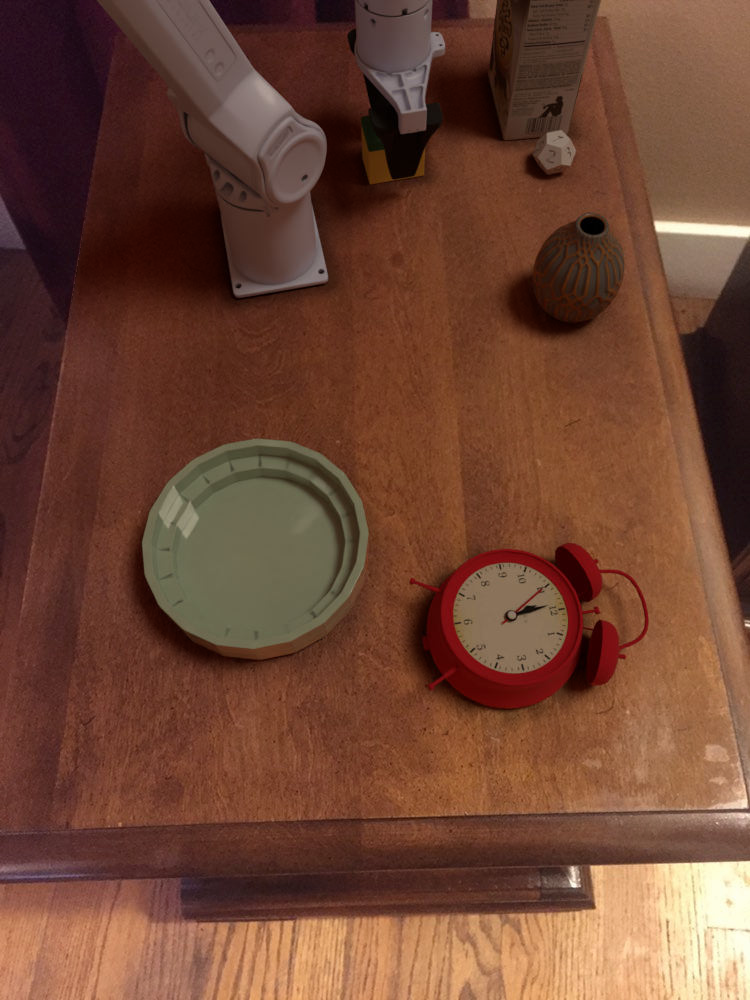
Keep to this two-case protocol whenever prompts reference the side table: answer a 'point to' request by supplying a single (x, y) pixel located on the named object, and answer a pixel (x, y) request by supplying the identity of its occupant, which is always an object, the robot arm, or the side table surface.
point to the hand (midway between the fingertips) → (393, 143)
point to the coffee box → (539, 63)
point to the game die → (554, 152)
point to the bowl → (257, 548)
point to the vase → (579, 269)
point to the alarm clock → (520, 625)
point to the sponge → (378, 155)
